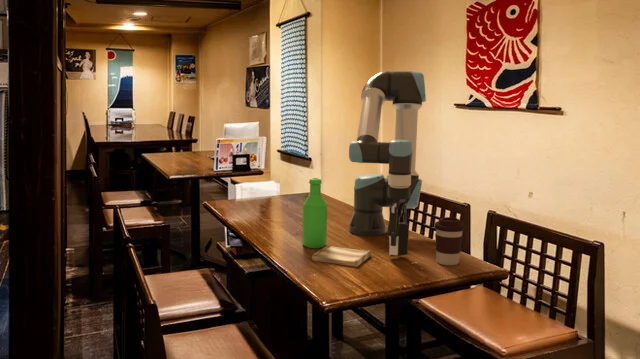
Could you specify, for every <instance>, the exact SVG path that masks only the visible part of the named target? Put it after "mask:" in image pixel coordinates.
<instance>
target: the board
mask: <svg viewBox="0 0 640 359" xmlns="http://www.w3.org/2000/svg"><path fill="white" fill-rule="evenodd" d="M371 252H372V251H371V249H368V250H361V249H354V248H347V247H339V246H331V245H330V244H326V245H325V246H324V247H322V248H320V249H319V250H317V251H316V252H315V253H313V254H312V256H311V258H312V259H311V260H312V262H313V261H314V262H322V263H329V264H336V265H343V266H349V267H356V268H358V266H361V264H362V263H363V262H365V261H366V260H367V259H369V257H371V255H372V254H371Z"/></svg>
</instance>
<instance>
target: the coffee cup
mask: <svg viewBox="0 0 640 359" xmlns="http://www.w3.org/2000/svg"><path fill="white" fill-rule="evenodd" d="M433 224H434V225H433V227H434V229H435V234H434V235H435V236H434V237H435V251H436V252H435V253H436V262H437V264H439V265H442V266H446V267H447V266H451V267H452V266H456V265H458V264H459V262H460V255H461V252H462V245H463V232H464V231H465V228H466V225H465V224H464V223H463V222H462V221H461V219H459V218H456V217H447V216H446V217H445V216H444V217H441V218H439V219H438V220H437V221H434V223H433Z"/></svg>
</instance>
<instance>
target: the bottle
mask: <svg viewBox="0 0 640 359" xmlns="http://www.w3.org/2000/svg"><path fill="white" fill-rule="evenodd" d="M308 183H309V194H308V196H307V197H306V199H305V200H304V202H303V204H302V245H303V246H304V247H305V248H309V249H322V248H324V247H326V246H327V239H328V238H327V230H328V229H327V227H328V203H327V201H326V200H325V198H324V197H323V195H322V194H321V193H322V190H321V189H322V186H321V185H322V179H321V178H319V177H313V178H309V182H308Z"/></svg>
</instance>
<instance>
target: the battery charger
mask: <svg viewBox="0 0 640 359" xmlns="http://www.w3.org/2000/svg"><path fill="white" fill-rule="evenodd" d="M388 230H389V224H388V226H387V230H386V234H387V236H386V237H387V238H388V250H387V255H388V256H389V257H399V256H405V255H408V249H409V248H408V246H409V233H410V232H409V231H410V227H409V225H408V223H407V222H406V223H404V222H399V228H398V236H399V237H398V255H390V236H388Z"/></svg>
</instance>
